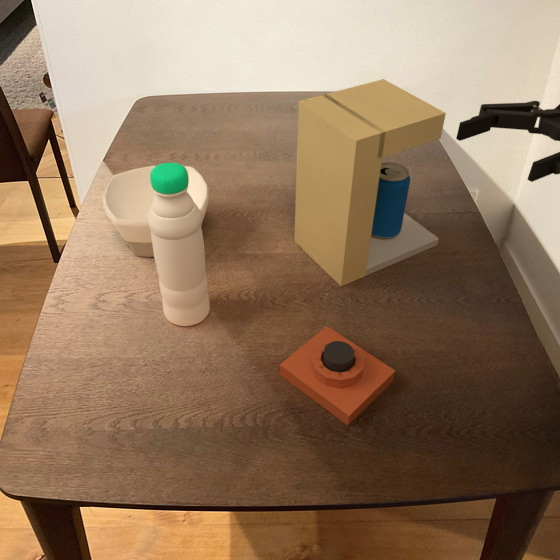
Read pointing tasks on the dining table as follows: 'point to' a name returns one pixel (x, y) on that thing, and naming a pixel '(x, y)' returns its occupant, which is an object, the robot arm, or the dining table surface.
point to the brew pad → (337, 377)
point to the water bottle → (178, 246)
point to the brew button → (338, 356)
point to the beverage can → (390, 200)
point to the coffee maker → (356, 175)
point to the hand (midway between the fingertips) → (494, 150)
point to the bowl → (143, 205)
